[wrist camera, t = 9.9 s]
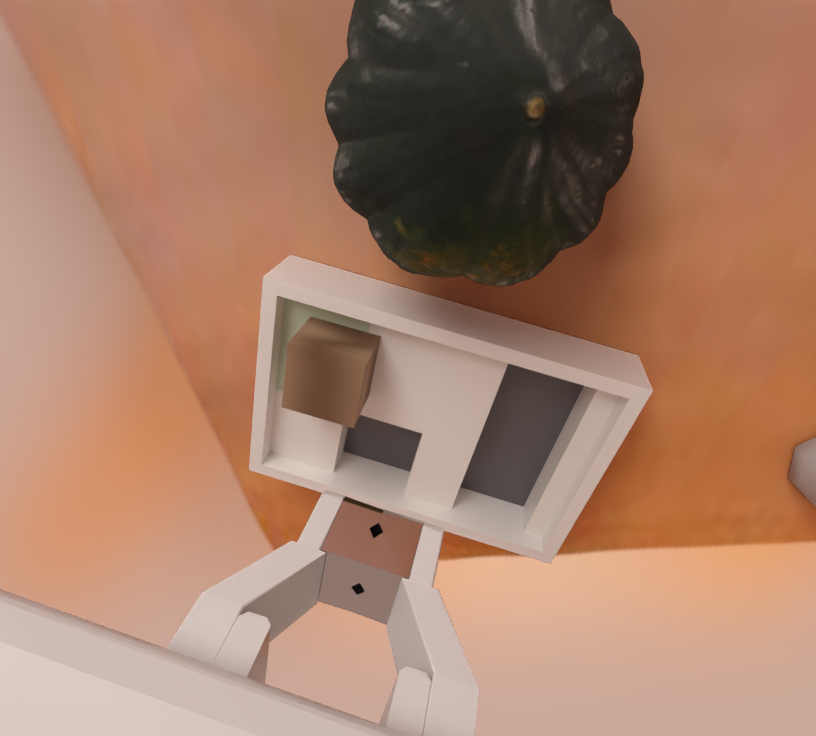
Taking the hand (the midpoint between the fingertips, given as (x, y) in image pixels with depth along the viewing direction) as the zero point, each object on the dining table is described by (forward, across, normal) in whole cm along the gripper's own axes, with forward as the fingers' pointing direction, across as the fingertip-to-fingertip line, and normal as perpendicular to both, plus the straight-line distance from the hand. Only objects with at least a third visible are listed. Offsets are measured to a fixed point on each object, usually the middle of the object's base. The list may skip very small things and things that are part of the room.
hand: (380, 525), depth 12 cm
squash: (+25, +2, -7) cm, 26 cm away
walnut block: (+21, +7, +10) cm, 24 cm away
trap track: (+24, 0, +13) cm, 28 cm away
